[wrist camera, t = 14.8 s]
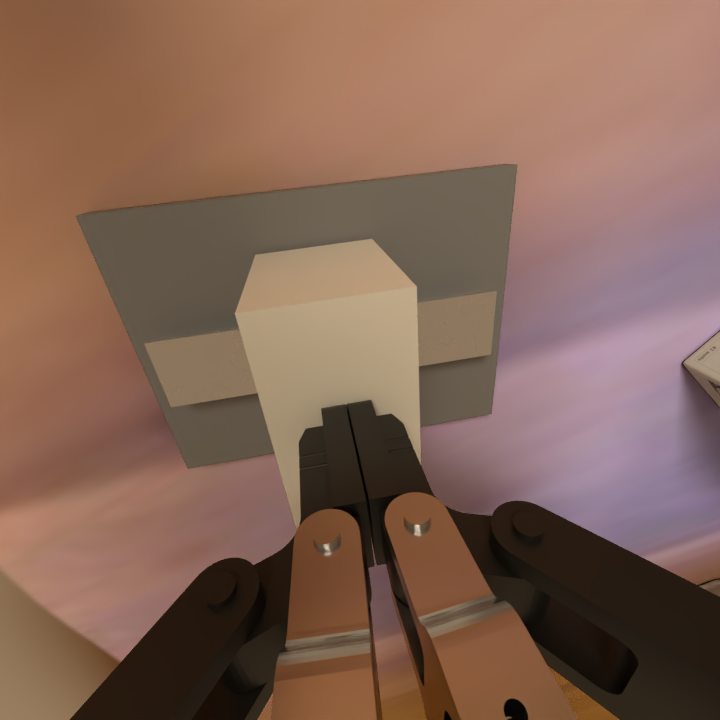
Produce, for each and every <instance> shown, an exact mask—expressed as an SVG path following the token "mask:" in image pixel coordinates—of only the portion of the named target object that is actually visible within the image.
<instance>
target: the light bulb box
mask: <svg viewBox="0 0 720 720" xmlns="http://www.w3.org/2000/svg"><path fill="white" fill-rule="evenodd" d="M683 364H684V366H685V367H686V368H687V369H688V371H689V372H690V373H691V374H692V375H693V376H694V378H695V379H696V380H697V381H698V382H699V384H700V385H701V386H702V387H703V388H704V389H705V391H706V392H707V393H708V394H709V395H710V396H711V398H712V399H713V400H714V401H715V402H716V403H717V405H718V406H719V407H720V331H719V332H718V333H717V334H716V335H715V336H713V337H712V338H711V339H710V340H709V341H707V342H706V343H705V344H704V345H703V346H702V347H700V348H699V349H698V350H697V351H696V352H695V353H693V354H692V355H691V356H690V357H689V358H687V359H686V360H685V361H684V363H683Z"/></svg>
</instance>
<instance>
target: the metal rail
mask: <svg viewBox="0 0 720 720" xmlns="http://www.w3.org/2000/svg"><path fill="white" fill-rule="evenodd" d="M496 295H497V291H496V290H488V291H481V292H474V293H468V294H461V295H454V296H447V297H441V298H434V299H427V300H420V301H417V316H418V359H419V366H425V365H431V364H437V363H443V362H449V361H455V360H461V359H467V358H473V357H479V356H485V355H491V349H492V338H493V327H494V317H495V306H496ZM144 345H145V347H146V350H147V352H148V354H149V357H150V359H151V361H152V364H153V366H154V368H155V371H156V373H157V375H158V378H159V380H160V382H161V385H162V387H163V389H164V392H165V394H166V396H167V399H168V401H169V403H170V406H171V407H177V406H183V405H189V404H195V403H201V402H207V401H213V400H219V399H225V398H231V397H237V396H243V395H249V394H255V393H257V389H256V386H255V382H254V379H253V375H252V372H251V368H250V365H249V361H248V358H247V354H246V351H245V347H244V344H243V340H242V337H241V333H240V330H239V327H238V328H232V329H225V330H218V331H211V332H205V333H198V334H191V335H184V336H178V337H171V338H164V339H157V340H151V341H145V343H144Z"/></svg>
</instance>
